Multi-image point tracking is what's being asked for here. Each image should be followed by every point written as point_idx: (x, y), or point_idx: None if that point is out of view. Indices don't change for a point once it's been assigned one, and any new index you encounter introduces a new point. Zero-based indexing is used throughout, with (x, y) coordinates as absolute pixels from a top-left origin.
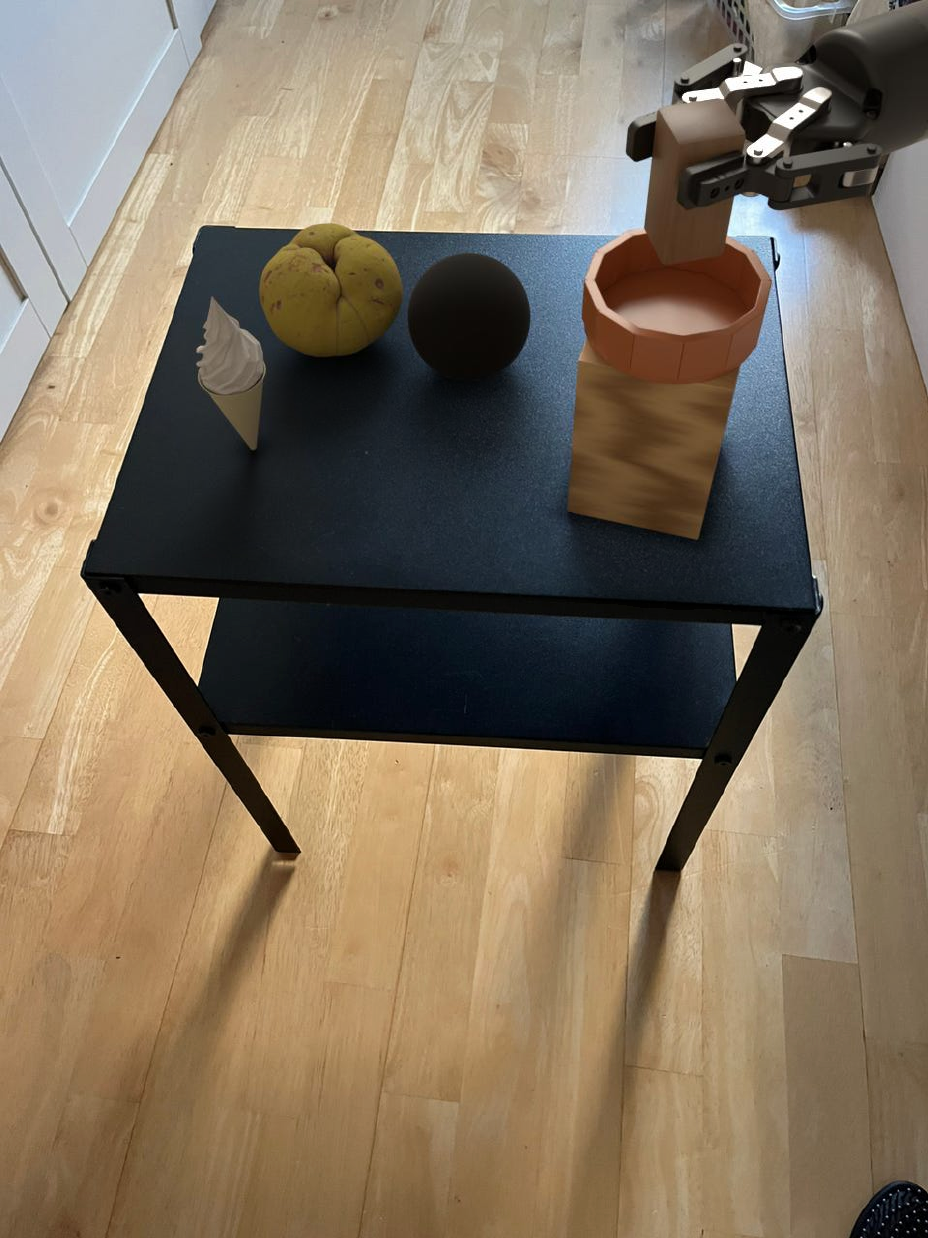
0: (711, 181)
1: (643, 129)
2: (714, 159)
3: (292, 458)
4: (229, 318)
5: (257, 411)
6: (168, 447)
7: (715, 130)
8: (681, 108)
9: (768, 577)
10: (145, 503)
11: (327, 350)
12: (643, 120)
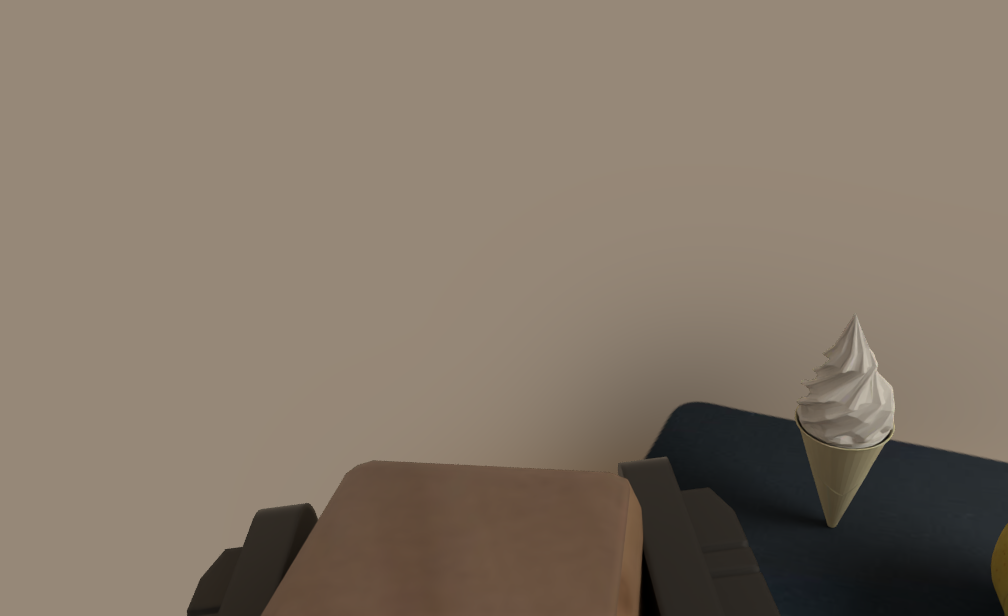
0: (206, 581)
1: None
2: (256, 604)
3: (804, 561)
4: (852, 354)
5: (824, 479)
6: None
7: (316, 588)
8: (560, 530)
9: None
10: (754, 429)
11: (998, 597)
12: (653, 483)
